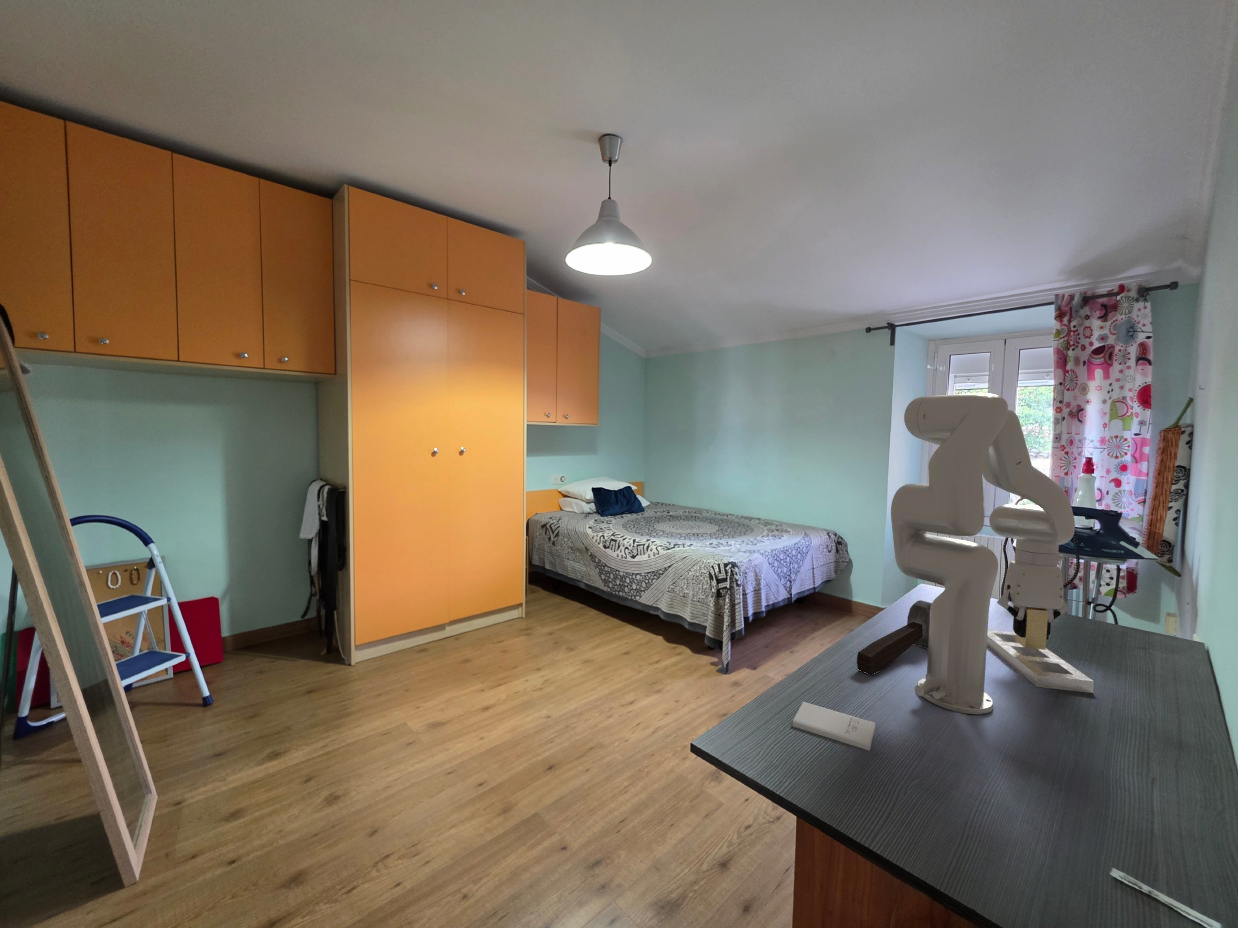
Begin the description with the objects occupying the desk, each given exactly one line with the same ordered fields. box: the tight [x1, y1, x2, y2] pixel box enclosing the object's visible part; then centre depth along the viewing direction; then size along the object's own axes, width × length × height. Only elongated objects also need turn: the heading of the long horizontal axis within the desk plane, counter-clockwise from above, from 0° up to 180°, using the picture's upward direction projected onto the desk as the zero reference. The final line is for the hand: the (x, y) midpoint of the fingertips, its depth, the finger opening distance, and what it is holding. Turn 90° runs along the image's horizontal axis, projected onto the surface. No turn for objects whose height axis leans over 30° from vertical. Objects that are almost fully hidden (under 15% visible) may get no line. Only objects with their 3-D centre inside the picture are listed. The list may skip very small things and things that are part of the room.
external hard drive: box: [792, 701, 877, 751], centre depth 90 cm, size 2×8×12 cm
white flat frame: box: [987, 629, 1095, 694], centre depth 117 cm, size 26×10×2 cm, turn 167°
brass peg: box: [1016, 608, 1048, 650], centre depth 116 cm, size 4×4×9 cm
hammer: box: [856, 599, 932, 676], centre depth 118 cm, size 5×11×30 cm
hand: (1030, 635), depth 116 cm, fingers closed on brass peg, 4 cm apart
